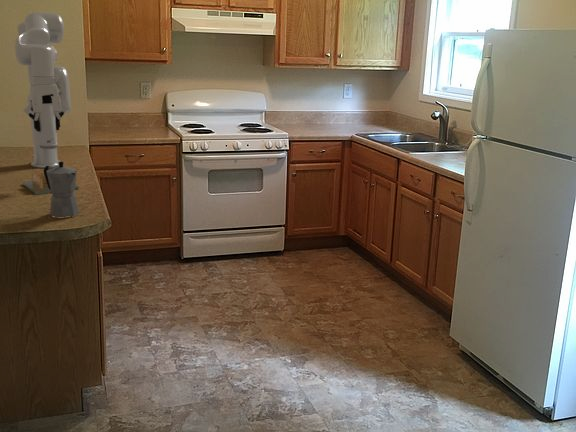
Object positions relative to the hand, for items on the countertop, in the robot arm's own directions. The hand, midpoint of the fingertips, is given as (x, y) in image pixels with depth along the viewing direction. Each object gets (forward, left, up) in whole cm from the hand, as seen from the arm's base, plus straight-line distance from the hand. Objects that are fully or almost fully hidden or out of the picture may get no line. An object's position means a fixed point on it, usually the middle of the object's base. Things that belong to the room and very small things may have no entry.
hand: (47, 129), depth 234 cm
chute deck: (-2, 0, -22) cm, 22 cm away
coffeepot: (+35, -7, -23) cm, 42 cm away
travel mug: (0, 0, -7) cm, 7 cm away
